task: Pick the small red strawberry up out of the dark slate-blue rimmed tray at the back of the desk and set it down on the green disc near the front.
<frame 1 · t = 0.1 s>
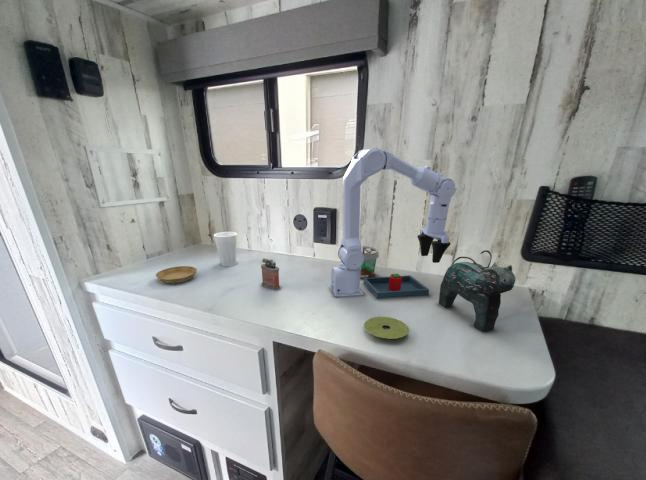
hand: (429, 258, 104), 10 cm above the table, tool pointing down, fingers open, 7 cm apart
foam cup: (228, 264, 133), on the table
ceramic cat: (463, 318, 87), on the table
green disc: (385, 333, 80), on the table
lighter: (271, 287, 110), on the table
plant saucer: (178, 279, 118), on the table
food container: (368, 276, 119), on the table
tray: (394, 289, 106), on the table
strawberry: (394, 288, 106), resting on tray
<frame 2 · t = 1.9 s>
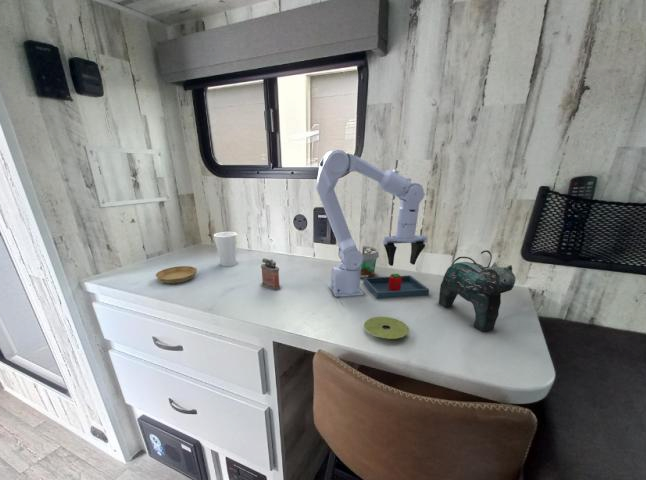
hand: (401, 264, 102), 9 cm above the table, tool pointing down, fingers open, 7 cm apart
nothing on the table moved.
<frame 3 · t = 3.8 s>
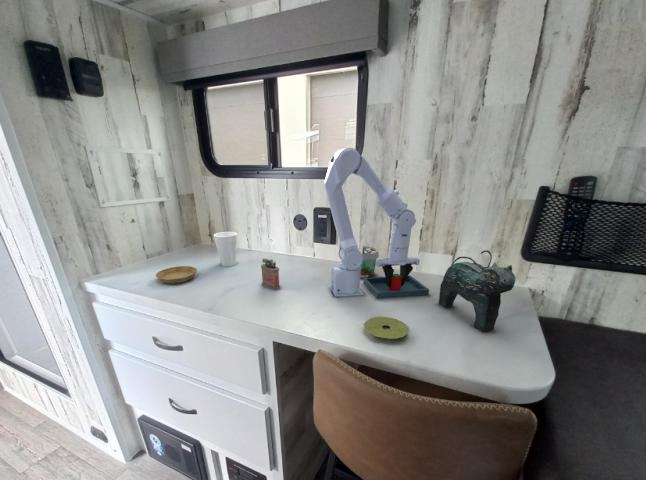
hand: (394, 285, 105), 2 cm above the table, tool pointing down, fingers closed on strawberry, 4 cm apart
strawberry: (394, 288, 106), resting on tray, touching gripper
everything else where it was.
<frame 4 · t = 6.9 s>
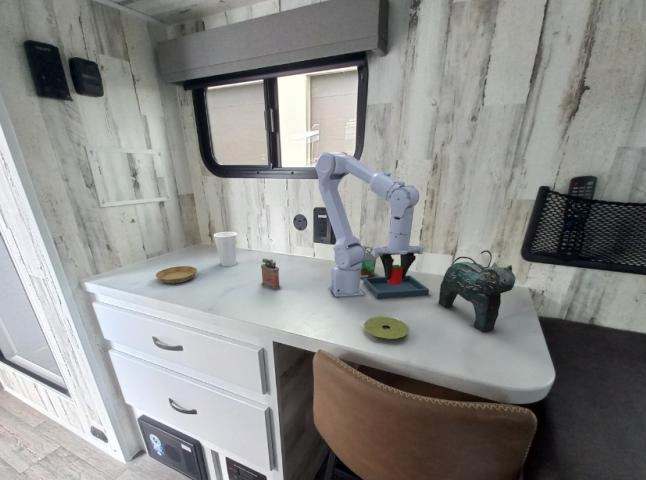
hand: (394, 278, 91), 9 cm above the table, tool pointing down, fingers closed on strawberry, 4 cm apart
strawberry: (394, 282, 92), point 8 cm above the table, touching gripper
everything else where it was.
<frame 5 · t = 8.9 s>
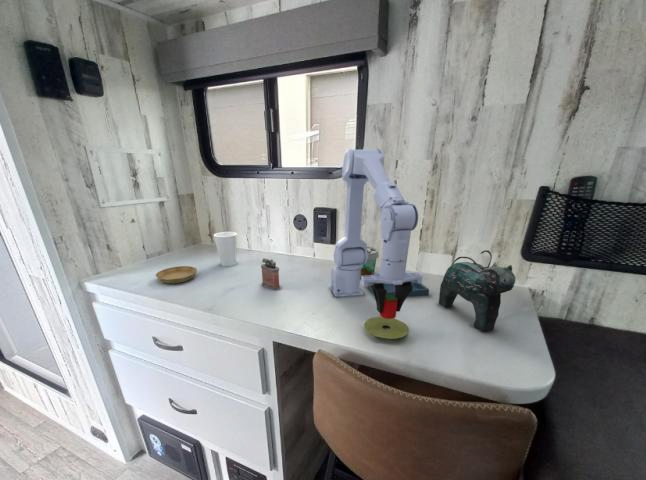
hand: (388, 310, 77), 7 cm above the table, tool pointing down, fingers closed on strawberry, 4 cm apart
strawberry: (387, 315, 78), point 5 cm above the table, touching gripper
everything else where it was.
when the fingers open (3 cm above the table, at t = 10.3 s): strawberry stays where it is, resting on green disc.
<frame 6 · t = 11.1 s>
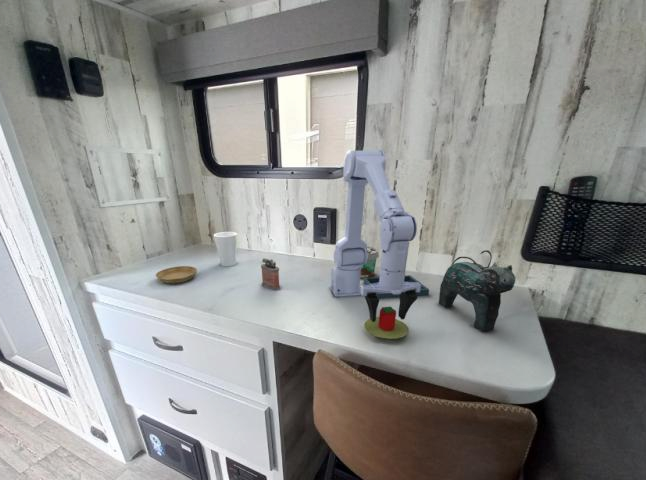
hand: (387, 318, 78), 4 cm above the table, tool pointing down, fingers open, 7 cm apart
green disc: (385, 333, 80), on the table, touching strawberry
strawberry: (386, 326, 79), point 2 cm above the table, touching green disc
everything else where it was.
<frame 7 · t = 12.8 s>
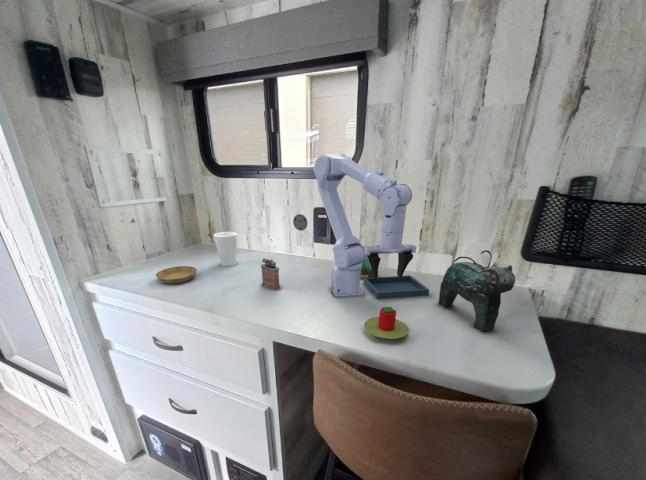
hand: (387, 277, 91), 9 cm above the table, tool pointing down, fingers open, 7 cm apart
nothing on the table moved.
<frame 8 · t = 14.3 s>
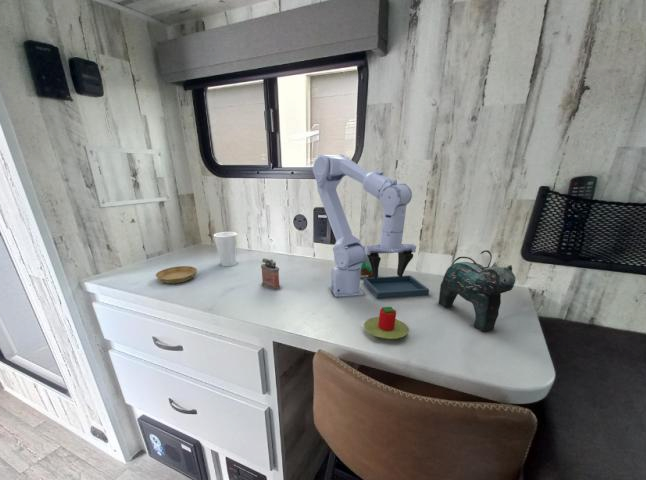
hand: (387, 276, 91), 9 cm above the table, tool pointing down, fingers open, 7 cm apart
nothing on the table moved.
at the end: strawberry inside the target area on the green disc (0.0 cm from its centre), point 2.2 cm above the green disc's base; strawberry moved 30.5 cm from its start; strawberry tilted 0° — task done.
